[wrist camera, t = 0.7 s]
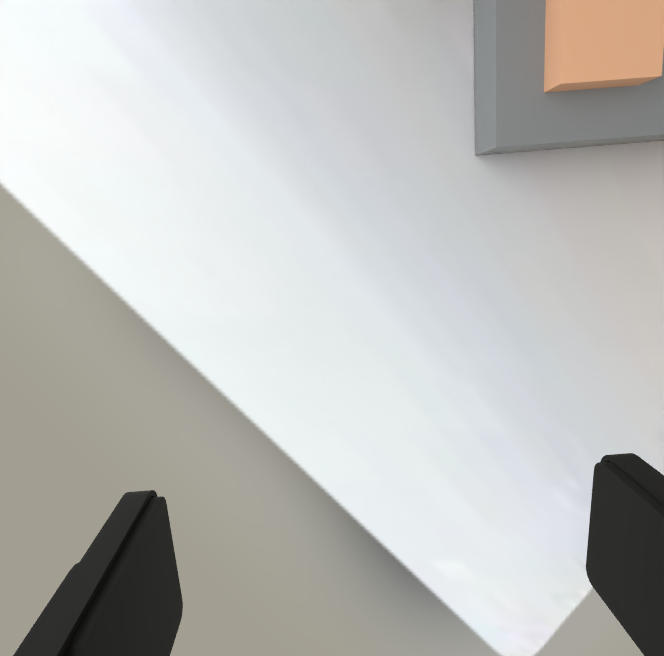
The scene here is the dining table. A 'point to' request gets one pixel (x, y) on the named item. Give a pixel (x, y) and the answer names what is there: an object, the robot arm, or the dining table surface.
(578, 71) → the tile
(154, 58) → the dining table surface
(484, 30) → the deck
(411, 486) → the dining table surface
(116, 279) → the dining table surface
